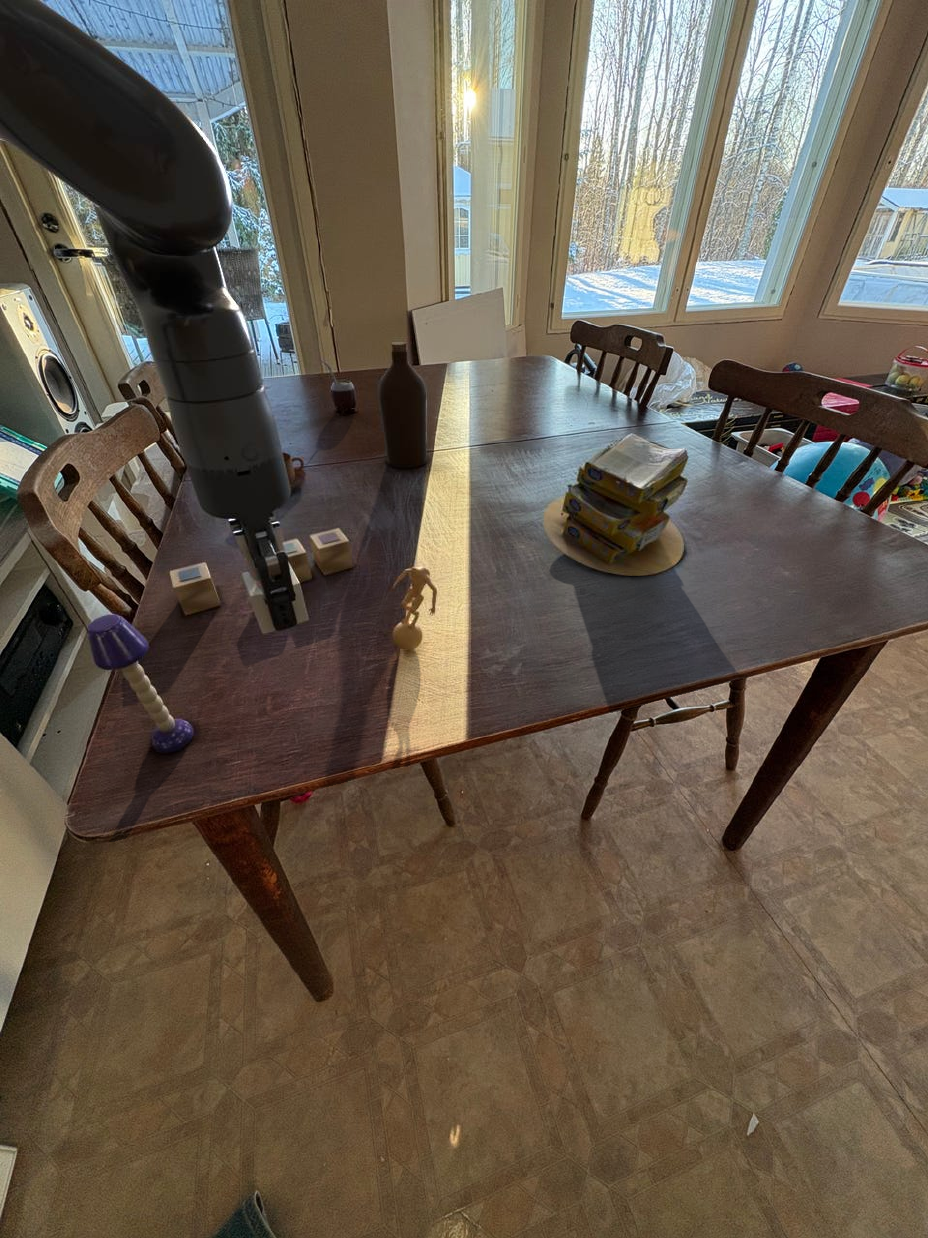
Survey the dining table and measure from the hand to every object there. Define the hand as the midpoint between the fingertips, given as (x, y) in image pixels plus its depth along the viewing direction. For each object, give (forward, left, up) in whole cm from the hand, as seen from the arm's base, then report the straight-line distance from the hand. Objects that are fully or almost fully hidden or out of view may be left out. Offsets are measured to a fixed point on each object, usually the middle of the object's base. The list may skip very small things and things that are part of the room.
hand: (279, 612), depth 52 cm
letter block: (0, 0, 0) cm, 0 cm away
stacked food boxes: (+59, +12, -14) cm, 62 cm away
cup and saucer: (+13, +65, -14) cm, 68 cm away
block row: (+3, +29, -14) cm, 32 cm away
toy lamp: (-15, +3, -14) cm, 21 cm away
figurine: (+16, +4, -14) cm, 22 cm away
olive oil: (+43, +64, -14) cm, 78 cm away
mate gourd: (+43, +108, -14) cm, 117 cm away
